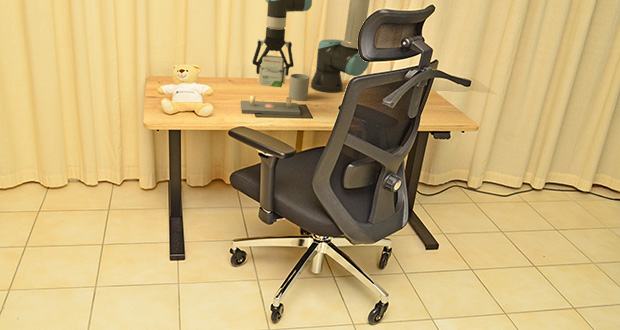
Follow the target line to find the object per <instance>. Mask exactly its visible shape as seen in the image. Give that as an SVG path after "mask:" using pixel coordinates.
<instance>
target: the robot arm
mask: <svg viewBox="0 0 620 330" xmlns="http://www.w3.org/2000/svg"><path fill="white" fill-rule="evenodd" d="M264 1H265V2H266V3H267V11H266V12H267V13H266V14H267V16H266V26H267V27H266V28H265V38H264V39H257V46H256V50H255V52H254V55H253V59H252V64H253V65H255V66H256V70H255V71H256V72H255V73H256V74H257V75H258V83H259V84H261V70H262V58H263V57H266V55H269V54H268V53H270V52H274V51H275V52H279V54H280V57H282V58H283V59H284V70H283V83H282V85H286V77H288V76H289V72H290V68H294V58H293V53H292V47H293V43H292V41H286V40H285V39H286V38H285V37H286V29H285V28H286V25H287V13H288V12H289V13H290V12H293V13H295V12H301V13H302V12H307V11H309V10H310V9H311V7H312V5H313V0H264ZM369 7H370V0H349V5H348V12H347V19H346V26H345V33H344V39H343V40H341V39H322V40H320V41H319V42H318V48H317V56H316V66H315V67H316V68H315V72H314V75H313V77H312V79H311V81H310V82H311V83H310V88H311V89H312V90H315V91H318V92H323V93H339V92H341V91H342V90H343V80H342V75H341V73H344V74H346V75H348V76H353V77H358V76H361V75H362V74H364V72H365V71H366V70H367V69H368V67H369V64H370V61H369V62H365V61H363V60H362V59H361V58H360V56H359V53H358V49H357V38H358V34H359V30H360V28H361V26H362V24H363V22H364V21H365V20H366V19H367V20H368V13H369ZM264 45H265V46H266V47H265V49H264V51H263V52H262V54H261V56H260V57H259V55H260V52H261V48H262V47H263V46H264ZM284 46H285V47H286V48H287V53H288V59H289V63H288V60H287V59H286V56H285V53H284V50H283V47H284ZM258 57H259V59H258Z"/></svg>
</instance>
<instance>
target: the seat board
mask: <svg viewBox="0 0 620 330" xmlns="http://www.w3.org/2000/svg"><path fill="white" fill-rule="evenodd" d="M285 99H286V100H285V102H282V101H281V102H279V101H262V100H261V101H260V100H259V101H256V96H255V95H250V97H249V100H240V109H241V111H240V112H241V114H246V115H247V114H251V115H253V114H254V115H256V114H255V113H262V114H261V115H270V114H278V115H277V116H294V115H295V116H296V117H297V116H301V110H300V107H299V105H298V102H292V100H291V98H290V97H289V96H287V97H286V98H285Z"/></svg>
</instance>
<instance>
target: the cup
mask: <svg viewBox="0 0 620 330" xmlns="http://www.w3.org/2000/svg"><path fill="white" fill-rule="evenodd" d="M289 77H290V78H289V88H288V97H290V98H291V101H296V102H305V101H307V100H308V97H309V85H310V84H309V83H310V76H309V75H307V74H303V73H302V74H301V73H293V74H290V75H289Z"/></svg>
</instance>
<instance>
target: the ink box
mask: <svg viewBox="0 0 620 330" xmlns="http://www.w3.org/2000/svg"><path fill="white" fill-rule="evenodd" d="M261 66H262V70H261V83H260V86H265V87H266V86H267V87H274V88H282V87H283V70H284V67H285V63H284V59H283V58H282V56H281V55H280V56H279V55H271V54H270V55H269V54H267V55H266V57H263V58H262V63H261Z"/></svg>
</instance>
